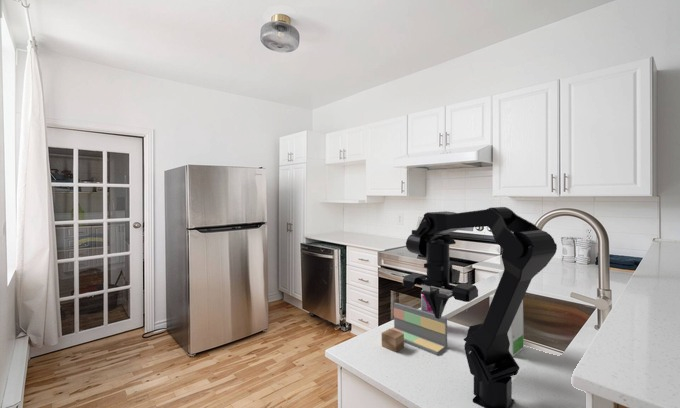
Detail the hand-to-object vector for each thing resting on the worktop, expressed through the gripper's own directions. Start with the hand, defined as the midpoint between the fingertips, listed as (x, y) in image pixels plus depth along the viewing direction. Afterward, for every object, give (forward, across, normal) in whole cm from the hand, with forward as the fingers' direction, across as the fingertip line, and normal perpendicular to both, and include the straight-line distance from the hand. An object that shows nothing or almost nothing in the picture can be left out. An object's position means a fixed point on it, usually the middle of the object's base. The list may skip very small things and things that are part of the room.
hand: (438, 318), depth 81 cm
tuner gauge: (+12, +11, -6) cm, 17 cm away
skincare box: (+12, -10, -20) cm, 25 cm away
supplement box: (+12, +13, -18) cm, 25 cm away
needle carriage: (+12, +14, +2) cm, 18 cm away
